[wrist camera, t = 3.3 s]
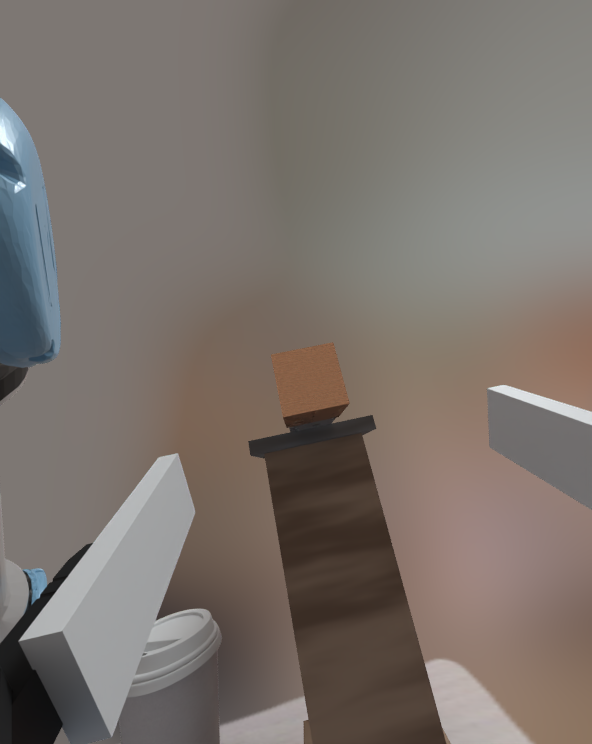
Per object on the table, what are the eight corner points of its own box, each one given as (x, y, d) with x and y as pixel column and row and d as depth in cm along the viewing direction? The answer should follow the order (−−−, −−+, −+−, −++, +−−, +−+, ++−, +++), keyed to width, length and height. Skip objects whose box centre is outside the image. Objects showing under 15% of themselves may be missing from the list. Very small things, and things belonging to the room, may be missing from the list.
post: (555, 960, 15) (386, 410, 24) (316, 1037, 15) (234, 442, 24) (427, 713, 31) (353, 431, 40) (307, 746, 30) (259, 451, 39)
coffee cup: (88, 894, 22) (91, 653, 27) (197, 772, 30) (184, 601, 34) (152, 994, 17) (142, 675, 22) (264, 817, 25) (238, 608, 29)
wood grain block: (349, 403, 17) (333, 342, 18) (282, 417, 17) (271, 354, 18) (321, 438, 39) (314, 409, 40) (292, 444, 39) (286, 415, 40)
